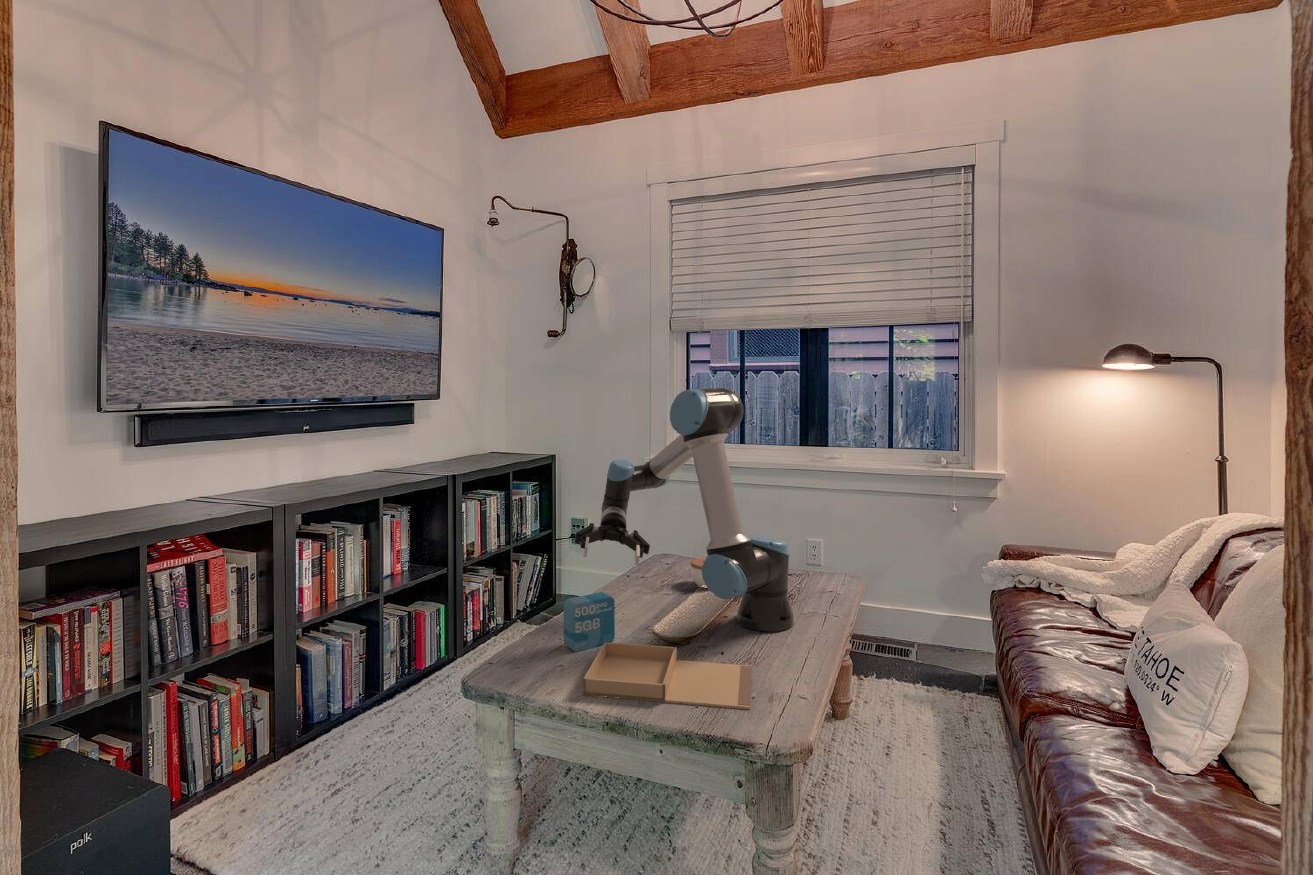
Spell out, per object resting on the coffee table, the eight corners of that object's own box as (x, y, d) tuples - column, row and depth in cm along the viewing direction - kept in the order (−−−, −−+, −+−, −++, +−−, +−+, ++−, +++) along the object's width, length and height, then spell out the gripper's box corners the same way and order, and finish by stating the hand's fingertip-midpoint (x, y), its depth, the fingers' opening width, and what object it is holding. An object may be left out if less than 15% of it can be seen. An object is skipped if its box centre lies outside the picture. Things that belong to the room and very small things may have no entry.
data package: (571, 653, 159) (571, 604, 158) (563, 646, 163) (563, 599, 161) (615, 642, 166) (615, 595, 164) (606, 636, 169) (606, 590, 168)
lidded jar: (701, 593, 203) (701, 563, 202) (684, 583, 213) (684, 554, 212) (730, 588, 208) (731, 558, 207) (712, 578, 218) (712, 550, 217)
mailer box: (751, 667, 152) (751, 652, 151) (750, 709, 133) (750, 692, 132) (604, 656, 157) (604, 642, 157) (583, 695, 138) (583, 678, 138)
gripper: (653, 542, 194) (656, 576, 174) (568, 528, 192) (561, 561, 171) (658, 519, 192) (661, 550, 172) (572, 504, 190) (566, 535, 169)
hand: (611, 556), depth 171 cm, fingers open, 13 cm apart
